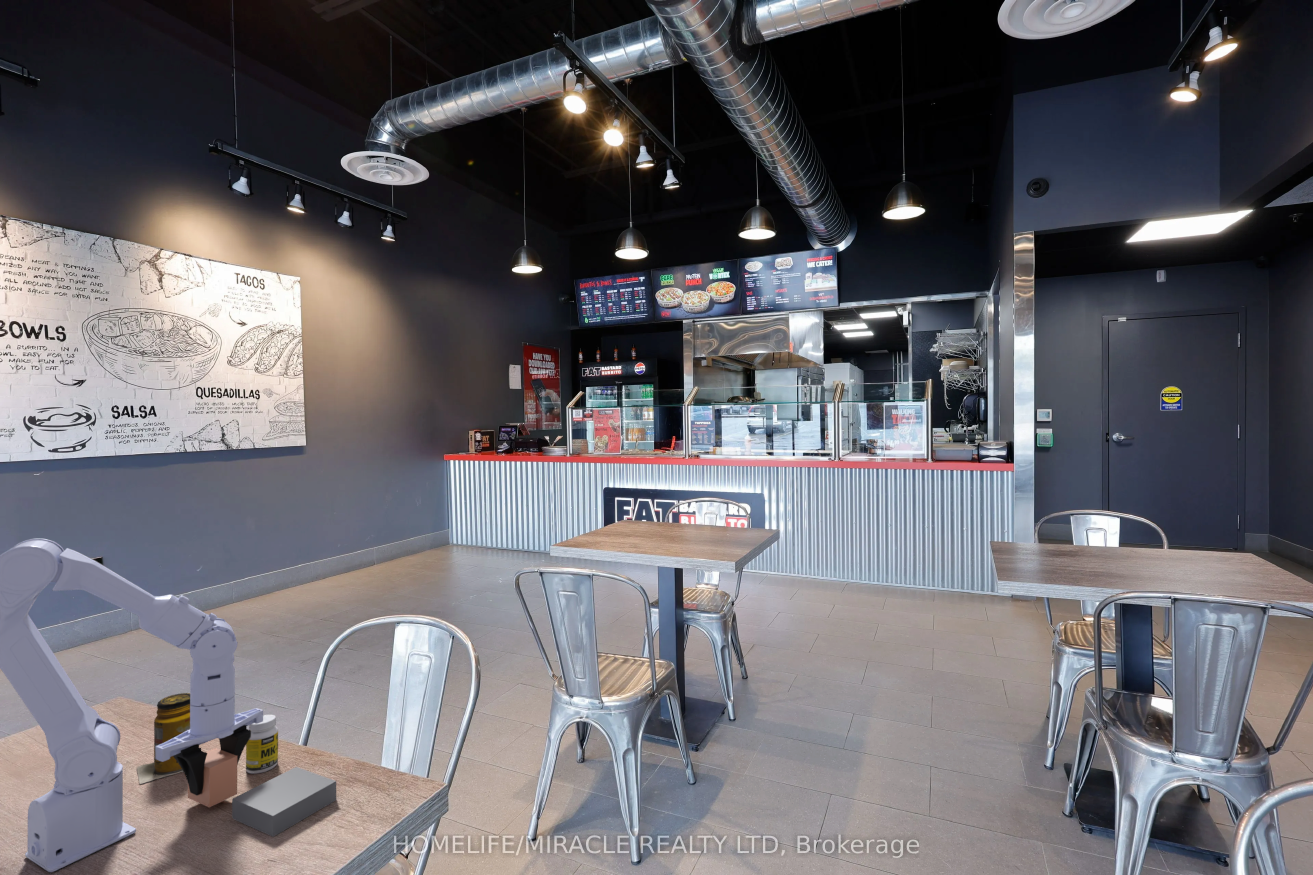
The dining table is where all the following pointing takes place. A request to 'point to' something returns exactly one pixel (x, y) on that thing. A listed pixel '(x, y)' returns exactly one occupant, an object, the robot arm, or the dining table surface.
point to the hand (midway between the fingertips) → (212, 785)
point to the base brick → (283, 801)
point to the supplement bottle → (262, 746)
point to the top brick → (217, 778)
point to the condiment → (167, 735)
